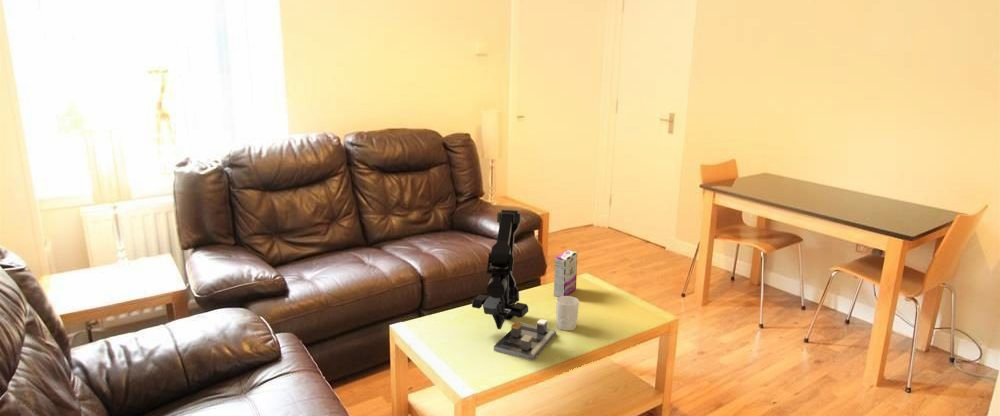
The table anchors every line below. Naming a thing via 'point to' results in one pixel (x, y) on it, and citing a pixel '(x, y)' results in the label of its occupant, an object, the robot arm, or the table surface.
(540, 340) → the panel
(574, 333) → the table surface
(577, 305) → the white cup
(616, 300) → the table surface
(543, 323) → the block
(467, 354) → the table surface
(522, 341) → the block
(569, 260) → the candy bar box
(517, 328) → the block
